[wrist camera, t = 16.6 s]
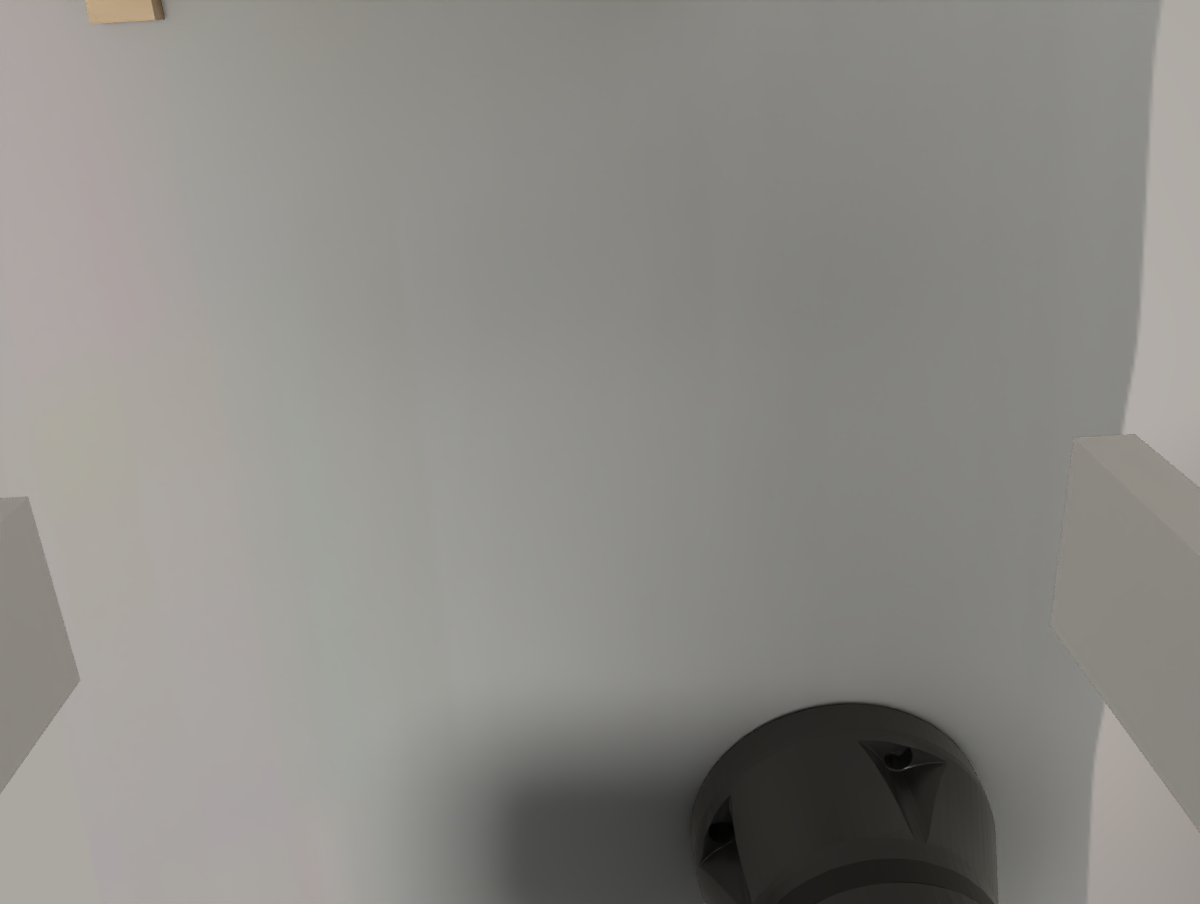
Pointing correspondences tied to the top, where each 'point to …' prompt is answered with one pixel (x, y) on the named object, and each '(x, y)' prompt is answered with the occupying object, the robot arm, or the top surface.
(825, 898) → the robot arm
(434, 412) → the top surface
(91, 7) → the wooden screen
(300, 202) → the top surface
